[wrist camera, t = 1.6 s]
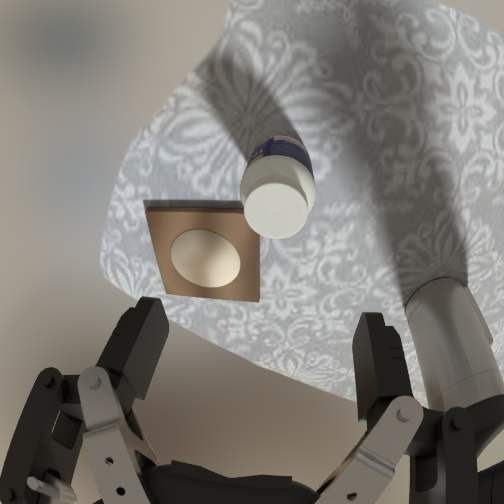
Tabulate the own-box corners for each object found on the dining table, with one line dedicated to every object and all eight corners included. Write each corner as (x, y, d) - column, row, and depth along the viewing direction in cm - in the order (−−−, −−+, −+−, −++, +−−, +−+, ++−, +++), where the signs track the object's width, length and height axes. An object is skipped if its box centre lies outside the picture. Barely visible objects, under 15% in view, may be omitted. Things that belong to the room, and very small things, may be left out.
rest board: (259, 209, 29) (258, 214, 28) (259, 296, 36) (258, 302, 35) (148, 207, 30) (144, 212, 29) (168, 288, 37) (166, 294, 36)
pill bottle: (259, 127, 24) (242, 160, 16) (317, 143, 24) (331, 186, 16) (245, 180, 27) (225, 236, 19) (300, 195, 27) (302, 257, 19)
